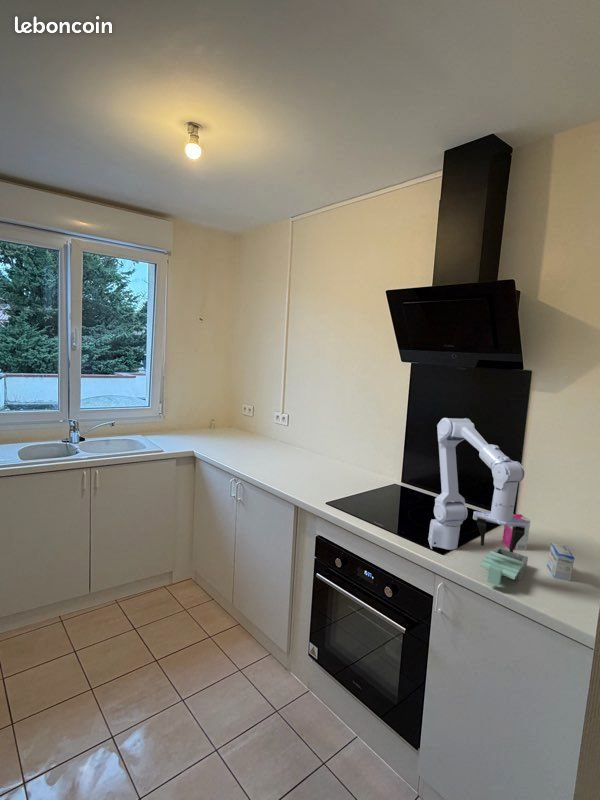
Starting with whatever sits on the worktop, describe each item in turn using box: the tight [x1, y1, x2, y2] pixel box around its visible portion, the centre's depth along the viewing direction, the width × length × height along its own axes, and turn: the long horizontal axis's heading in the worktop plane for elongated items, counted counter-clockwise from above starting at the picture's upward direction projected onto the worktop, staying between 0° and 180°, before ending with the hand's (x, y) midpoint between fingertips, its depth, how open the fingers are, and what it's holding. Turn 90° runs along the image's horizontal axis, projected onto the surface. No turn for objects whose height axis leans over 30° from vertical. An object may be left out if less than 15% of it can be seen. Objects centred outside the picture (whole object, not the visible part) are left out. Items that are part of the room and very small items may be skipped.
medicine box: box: [546, 542, 575, 582], centre depth 127 cm, size 8×4×9 cm, turn 163°
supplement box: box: [501, 513, 531, 551], centre depth 144 cm, size 6×6×12 cm
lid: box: [479, 550, 524, 587], centre depth 120 cm, size 9×14×4 cm, turn 141°
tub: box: [485, 546, 529, 582], centre depth 128 cm, size 9×11×4 cm
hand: (496, 547), depth 120 cm, fingers open, 7 cm apart
